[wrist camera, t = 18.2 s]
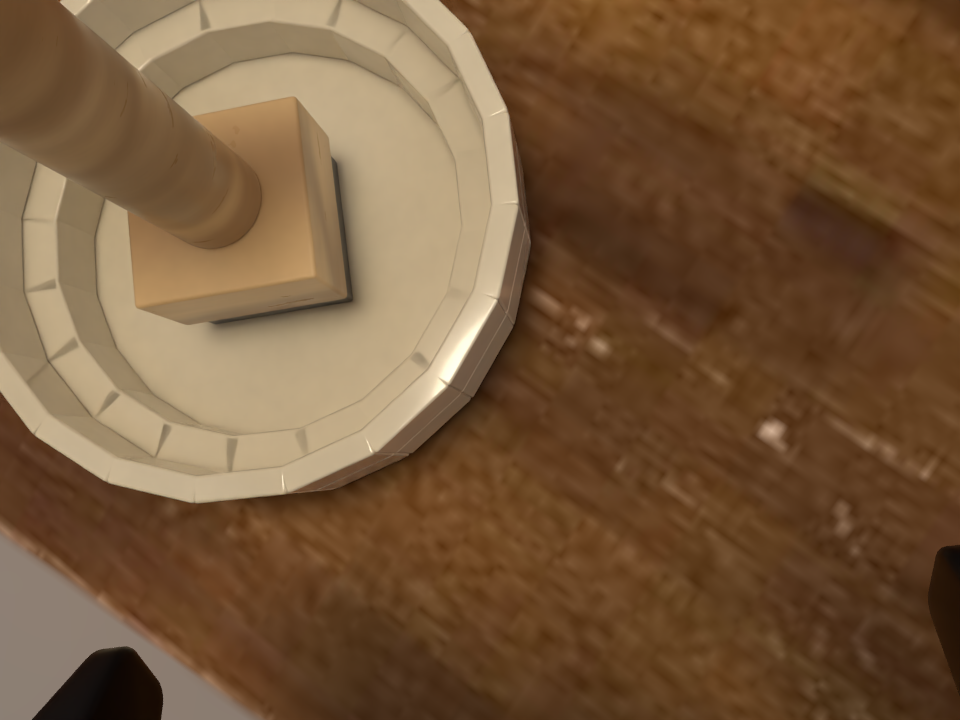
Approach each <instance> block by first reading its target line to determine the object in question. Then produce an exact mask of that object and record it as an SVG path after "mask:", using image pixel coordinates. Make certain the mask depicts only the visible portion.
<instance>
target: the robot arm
mask: <svg viewBox="0 0 960 720" xmlns="http://www.w3.org/2000/svg"><path fill="white" fill-rule="evenodd" d="M928 604H929V610H930V614H931V617H932V620H933V623H934V626H935V629H936V631H937V634H938V637H939V640H940V643H941V645H942V648H943V651H944V654H945V657H946V659H947V662H948V665H949V668H950V671H951V673H952V676H953V679H954V682H955V685H956V687H957V690H958V693H959V696H960V545H955V546H946V547H942V548H941V549H940V550H939V551H938V552H937V555H936V558H935V563H934V568H933V572H932V577H931V582H930V587H929V592H928ZM162 707H163V694H162V688H161V686H160V683H159V681H158V680H157V678H156V677H155V676H154V675H153V673H152V672H151V671H150V669H149V668H148V667H147V665H146V664H145V663H144V662H143V660H142V659H141V658H140V656H139V655H138V654H137V652H136V651H135V650H134V649H132V648H130V647H116V648H109V649H101V650H98V651H96V652H94V653H93V654H91V655H90V656H89V657H88V658H87V659H86V660H85V661H84V662H83V663H82V664H81V665H80V667H79V668H78V669H77V670H76V671H75V672H74V673H73V674H72V676H71V677H70V678H69V679H68V680H67V681H66V682H65V683H64V685H63V686H62V687H61V688H60V689H59V690H58V691H57V692H56V693H55V694H54V696H53V697H52V698H51V699H50V700H49V701H48V702H47V704H46V705H45V706H44V707H43V708H42V709H41V710H40V711H39V712H38V713H37V715H36V716H35V717H34V718H33V719H32V720H161V714H162Z"/></svg>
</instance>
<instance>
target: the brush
mask: <svg viewBox="0 0 960 720" xmlns="http://www.w3.org/2000/svg"><path fill="white" fill-rule="evenodd" d="M0 142H1V143H3V144H5V145H6V146H8V147H10V148H12V149H14V150H16V151H18V152H19V153H21V154H23V155H25V156H27V157H29V158H31V159H32V160H34V161H36V162H38V163H40V164H42V165H44V166H45V167H47V168H49V169H51V170H53V171H55V172H57V173H58V174H60V175H62V176H64V177H66V178H68V179H70V180H71V181H73V182H75V183H77V184H79V185H81V186H83V187H84V188H86V189H88V190H90V191H92V192H94V193H95V194H97V195H99V196H101V197H103V198H105V199H107V200H108V201H110V202H112V203H114V204H116V205H118V206H120V207H121V208H123V209H125V210H127V214H128V226H129V238H130V251H131V263H132V275H133V287H134V300H135V306H136V308H137V309H140V310H143V311H146V312H149V313H152V314H155V315H158V316H161V317H164V318H167V319H170V320H173V321H176V322H179V323H182V324H185V325H192V324H198V323H204V322H210V323H213V324H221V323H227V322H233V321H239V320H245V319H251V318H257V317H263V316H268V315H274V314H280V313H286V312H292V311H298V310H304V309H310V308H316V307H322V306H328V305H334V304H340V303H346V302H351V301H353V294H352V286H351V277H350V269H349V261H348V252H347V244H346V235H345V227H344V219H343V210H342V202H341V193H340V185H339V177H338V168H337V162H336V161H335V160H334V159H333V157H332V156H331V153H330V144H329V137H328V135H327V134H326V133H325V132H324V130H323V129H322V128H321V127H320V126H319V124H318V123H317V122H316V121H315V120H314V118H313V117H312V116H311V115H310V113H309V112H308V111H307V110H306V109H305V107H304V106H303V105H302V104H301V102H300V101H299V100H298V99H297V98H296V97H294V96H291V97H286V98H281V99H276V100H271V101H266V102H261V103H256V104H251V105H246V106H241V107H236V108H231V109H226V110H221V111H216V112H211V113H206V114H201V115H196V116H192V115H190V114H189V113H188V112H187V111H186V110H185V109H183V108H182V107H181V106H180V105H179V104H178V103H176V102H175V101H174V100H173V99H172V98H171V97H169V96H168V95H167V94H166V93H165V92H164V91H162V90H161V89H160V88H159V87H158V86H157V85H155V84H154V83H153V82H152V81H151V80H150V79H148V78H147V77H146V76H145V75H144V74H143V73H141V72H140V71H139V70H138V69H137V68H136V67H134V66H133V65H132V64H131V63H130V62H129V61H127V60H126V59H125V58H124V57H123V56H122V55H120V54H119V53H118V52H117V51H116V50H115V49H113V48H112V47H111V46H110V45H109V44H108V43H106V42H105V41H104V40H103V39H102V38H101V37H100V36H98V35H97V34H96V33H95V32H94V31H93V30H91V29H90V28H89V27H88V26H87V25H86V24H84V23H83V22H82V21H81V20H80V19H79V18H77V17H76V16H75V15H74V14H73V13H72V12H70V11H69V10H68V9H67V8H66V7H65V6H63V5H62V4H61V3H60V2H59V1H58V0H0Z"/></svg>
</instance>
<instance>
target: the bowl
mask: <svg viewBox="0 0 960 720" xmlns="http://www.w3.org/2000/svg"><path fill="white" fill-rule="evenodd" d="M60 3H61V4H62V5H63V6H65V7H66V8H67V9H68V10H69V11H70V12H72V13H73V14H74V15H75V16H76V17H77V18H79V19H80V20H81V21H82V22H83V23H84V24H86V25H87V26H88V27H89V28H90V29H91V30H93V31H94V32H95V33H96V34H97V35H98V36H100V37H101V38H102V39H103V40H104V41H105V42H106V43H108V44H109V45H110V46H111V47H112V48H113V49H115V50H116V51H117V52H118V53H119V54H120V55H122V56H123V57H124V58H125V59H126V60H127V61H129V62H130V63H131V64H132V65H133V66H134V67H136V68H137V69H138V70H139V71H140V72H141V73H143V74H144V75H145V76H146V77H147V78H148V79H150V80H151V81H152V82H153V83H154V84H155V85H157V86H158V87H159V88H160V89H161V90H162V91H164V92H165V93H166V94H167V95H168V96H169V97H171V98H172V99H173V100H174V101H175V102H176V103H178V104H179V105H180V106H181V107H182V108H183V109H185V110H186V111H187V112H188V113H189V114H190V115H192V116H196V115H201V114H206V113H211V112H216V111H221V110H226V109H231V108H236V107H241V106H246V105H251V104H256V103H261V102H266V101H271V100H276V99H281V98H286V97H291V96H294V97H296V98H297V99H298V100H299V101H300V102H301V104H302V105H303V106H304V107H305V109H306V110H307V111H308V112H309V113H310V115H311V116H312V117H313V118H314V120H315V121H316V122H317V123H318V124H319V126H320V127H321V128H322V129H323V130H324V132H325V133H326V134H327V135H328V137H329V144H330V153H331V156H332V157H333V159H334V160H335V161H336V162H337V168H338V177H339V185H340V193H341V202H342V210H343V219H344V227H345V235H346V244H347V252H348V261H349V269H350V277H351V286H352V294H353V301H351V302H346V303H340V304H334V305H328V306H322V307H316V308H310V309H304V310H298V311H292V312H286V313H280V314H274V315H268V316H263V317H257V318H251V319H245V320H239V321H233V322H227V323H221V324H213V323H210V322H204V323H198V324H192V325H185V324H182V323H179V322H176V321H173V320H170V319H167V318H164V317H161V316H158V315H155V314H152V313H149V312H146V311H143V310H140V309H137V308H136V306H135V300H134V287H133V275H132V263H131V251H130V238H129V226H128V214H127V210H125V209H123V208H121V207H120V206H118V205H116V204H114V203H112V202H110V201H108V200H107V199H105V198H103V197H101V196H99V195H97V194H95V193H94V192H92V191H90V190H88V189H86V188H84V187H83V186H81V185H79V184H77V183H75V182H73V181H71V180H70V179H68V178H66V177H64V176H62V175H60V174H58V173H57V172H55V171H53V170H51V169H49V168H47V167H45V166H44V165H42V164H40V163H38V162H36V161H34V160H32V159H31V158H29V157H27V156H25V155H23V154H21V153H19V152H18V151H16V150H14V149H12V148H10V147H8V146H6V145H5V144H3V143H1V142H0V392H1V393H2V394H3V396H4V397H5V398H6V400H7V401H8V402H9V403H10V405H11V406H12V407H13V409H14V410H15V411H16V413H17V414H18V415H19V417H20V418H21V419H22V421H23V422H24V423H25V424H26V426H27V427H28V428H29V430H30V431H31V432H32V433H33V434H35V436H36V437H37V438H39V439H40V440H42V441H43V442H45V443H47V444H48V445H50V446H51V447H53V448H54V449H56V450H57V451H59V452H60V453H62V454H63V455H65V456H66V457H68V458H69V459H71V460H73V461H74V462H76V463H77V464H79V465H80V466H82V467H83V468H85V469H86V470H88V471H89V472H91V473H92V474H94V475H96V476H97V477H99V478H100V479H102V480H103V481H106V482H108V483H109V484H113V485H117V486H121V487H125V488H129V489H134V490H138V491H142V492H146V493H151V494H155V495H159V496H163V497H167V498H172V499H176V500H180V501H184V502H188V503H198V504H199V503H209V502H219V501H229V500H239V499H249V498H259V497H268V496H278V495H287V494H297V493H307V492H316V491H326V490H334V489H335V488H339V487H342V486H344V485H346V484H348V483H350V482H353V481H355V480H357V479H359V478H361V477H363V476H366V475H368V474H370V473H372V472H374V471H377V470H379V469H381V468H383V467H385V466H388V465H390V464H392V463H394V462H396V461H399V460H401V459H403V458H405V457H407V456H408V455H409V454H411V453H413V452H414V451H415V450H416V449H417V448H419V447H420V446H421V445H422V444H423V443H424V442H425V441H426V440H427V439H428V438H429V437H431V436H432V435H433V434H434V433H435V432H436V431H437V430H438V429H439V428H440V427H441V426H443V425H444V424H445V423H446V422H447V421H448V420H449V419H450V418H451V417H452V416H453V415H455V414H456V413H457V412H458V411H459V410H460V409H461V408H462V407H463V406H464V405H465V404H467V403H468V402H469V401H470V399H471V397H473V396H474V395H475V393H476V391H477V390H478V388H479V386H480V384H481V383H482V381H483V379H484V377H485V376H486V374H487V372H488V370H489V369H490V367H491V365H492V363H493V362H494V360H495V358H496V356H497V355H498V353H499V351H500V349H501V348H502V346H503V344H504V342H505V341H506V339H507V337H508V335H509V334H510V332H511V330H512V328H513V324H514V323H515V320H516V315H517V310H518V305H519V300H520V296H521V291H522V286H523V281H524V276H525V272H526V267H527V262H528V257H529V253H530V248H531V245H530V243H531V237H530V229H529V220H528V211H527V203H526V194H525V185H524V176H523V168H522V163H521V159H520V155H519V151H518V147H517V144H516V140H515V136H514V132H513V128H512V124H511V120H510V116H509V113H508V109H507V107H506V105H505V103H504V100H503V98H502V96H501V94H500V92H499V90H498V88H497V86H496V84H495V82H494V80H493V78H492V75H491V73H490V71H489V69H488V67H487V65H486V63H485V61H484V59H483V57H482V55H481V53H480V50H479V48H478V46H477V44H476V42H475V40H474V38H473V36H472V34H471V33H470V32H469V30H468V28H467V27H466V26H465V25H464V24H463V23H462V22H461V21H460V20H459V19H458V18H457V17H456V16H455V15H454V14H453V13H452V12H451V11H450V10H449V9H448V8H447V7H446V6H445V5H444V4H443V3H442V2H441V1H440V0H61V1H60Z"/></svg>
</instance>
